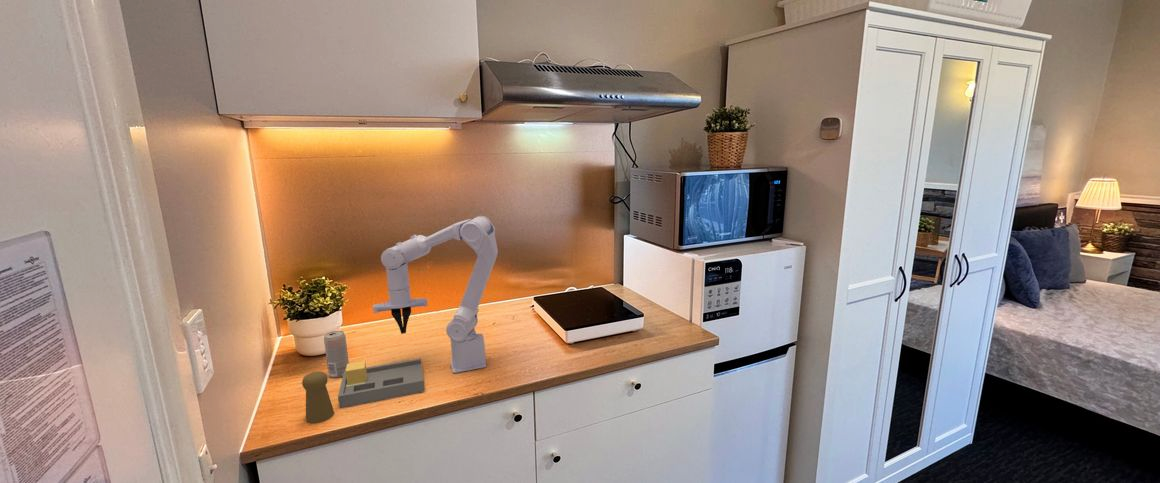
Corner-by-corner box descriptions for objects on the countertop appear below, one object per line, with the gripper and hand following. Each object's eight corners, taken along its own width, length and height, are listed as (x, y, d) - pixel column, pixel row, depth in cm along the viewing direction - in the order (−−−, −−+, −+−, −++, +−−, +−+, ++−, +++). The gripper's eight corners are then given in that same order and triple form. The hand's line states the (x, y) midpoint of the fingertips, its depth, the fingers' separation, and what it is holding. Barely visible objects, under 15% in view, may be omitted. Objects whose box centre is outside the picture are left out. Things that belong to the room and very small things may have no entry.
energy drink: (344, 367, 136) (339, 329, 134) (353, 372, 133) (348, 333, 130) (325, 374, 132) (320, 335, 130) (334, 380, 129) (328, 339, 126)
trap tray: (421, 368, 135) (420, 358, 134) (424, 391, 122) (423, 380, 121) (345, 382, 128) (343, 371, 127) (339, 408, 115) (337, 396, 114)
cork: (310, 411, 114) (304, 369, 112) (337, 407, 115) (331, 366, 113) (301, 425, 108) (295, 382, 106) (330, 421, 110) (324, 378, 107)
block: (367, 374, 128) (365, 360, 127) (366, 381, 124) (364, 368, 123) (348, 377, 126) (347, 363, 125) (347, 385, 122) (345, 371, 121)
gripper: (424, 280, 139) (428, 323, 142) (372, 287, 134) (377, 331, 137) (426, 287, 133) (430, 332, 136) (370, 294, 128) (376, 340, 131)
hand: (403, 332), depth 136 cm, fingers closed
